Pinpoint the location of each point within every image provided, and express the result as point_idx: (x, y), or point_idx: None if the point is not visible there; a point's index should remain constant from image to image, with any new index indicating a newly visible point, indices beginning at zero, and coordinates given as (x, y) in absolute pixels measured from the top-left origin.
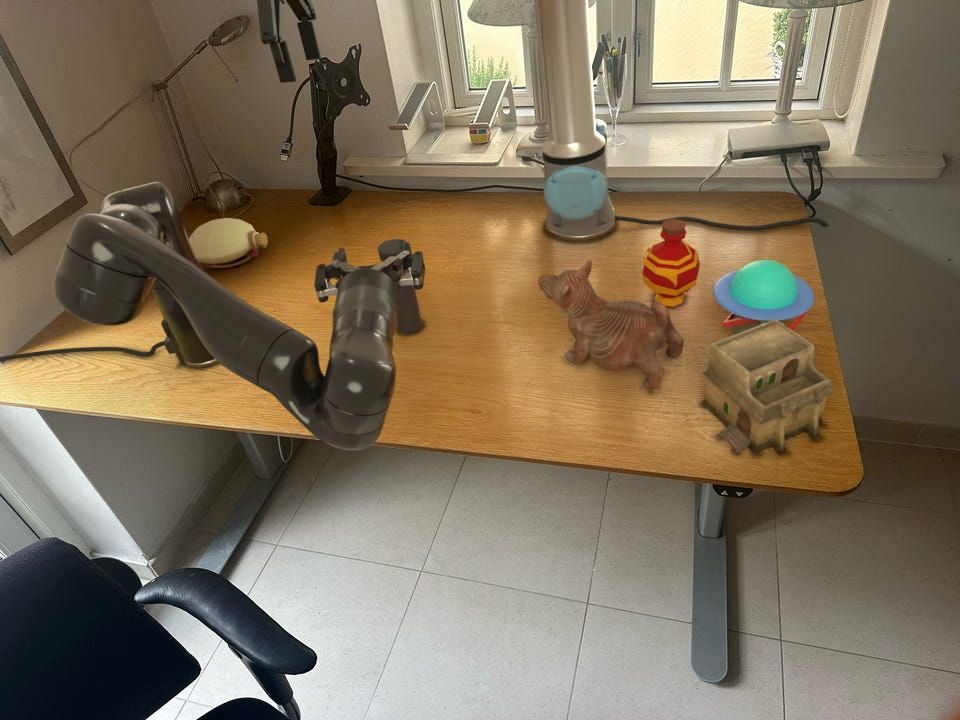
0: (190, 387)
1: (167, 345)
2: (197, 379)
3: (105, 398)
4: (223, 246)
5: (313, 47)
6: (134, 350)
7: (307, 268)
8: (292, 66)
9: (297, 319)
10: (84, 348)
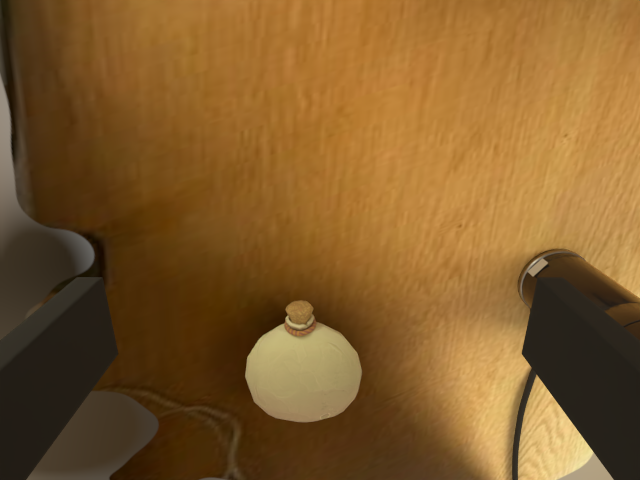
0: (625, 272)
1: None
2: (610, 270)
3: None
4: (347, 358)
5: (67, 338)
6: (533, 375)
7: (334, 217)
8: (585, 320)
9: (489, 180)
10: (519, 433)
